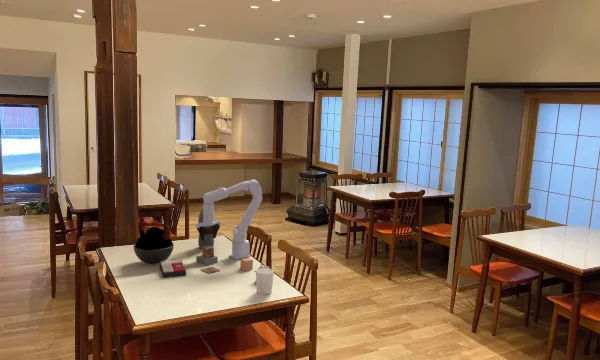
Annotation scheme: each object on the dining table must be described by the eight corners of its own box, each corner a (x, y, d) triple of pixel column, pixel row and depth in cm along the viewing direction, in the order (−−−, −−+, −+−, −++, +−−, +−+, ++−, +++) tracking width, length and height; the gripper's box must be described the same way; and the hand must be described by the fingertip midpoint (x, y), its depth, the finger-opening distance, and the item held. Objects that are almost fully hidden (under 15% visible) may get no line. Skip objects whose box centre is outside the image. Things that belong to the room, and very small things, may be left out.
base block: (208, 259, 258) (208, 253, 257) (217, 263, 253) (217, 256, 252) (196, 262, 252) (196, 256, 251) (205, 266, 247) (205, 260, 246)
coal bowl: (172, 256, 260) (172, 223, 257) (175, 268, 241) (175, 232, 238) (134, 258, 253) (133, 224, 251) (133, 271, 235) (132, 234, 232)
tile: (212, 267, 245) (212, 266, 245) (220, 270, 240) (220, 269, 240) (200, 270, 240) (200, 269, 240) (208, 273, 235) (208, 272, 235)
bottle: (195, 249, 275) (195, 198, 270) (201, 244, 284) (201, 195, 279) (211, 250, 273) (211, 199, 269) (216, 246, 282) (217, 196, 278)
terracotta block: (247, 266, 248) (247, 257, 247) (252, 269, 244) (252, 259, 244) (240, 268, 244) (240, 259, 244) (245, 271, 241) (245, 261, 241)
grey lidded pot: (267, 287, 230) (280, 272, 229) (259, 286, 222) (272, 270, 221) (255, 275, 234) (268, 259, 233) (247, 274, 226) (260, 258, 225)
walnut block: (209, 254, 255) (209, 245, 255) (213, 256, 252) (214, 247, 251) (202, 256, 252) (202, 247, 252) (206, 258, 249) (206, 248, 248)
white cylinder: (266, 296, 209) (266, 275, 207) (251, 292, 213) (252, 271, 211) (276, 291, 215) (276, 270, 214) (262, 287, 220) (262, 266, 218)
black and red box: (163, 271, 226) (159, 260, 240) (163, 280, 227) (159, 268, 240) (186, 269, 230) (181, 258, 244) (186, 277, 231) (181, 266, 245)
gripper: (215, 211, 265) (215, 235, 267) (193, 215, 255) (192, 239, 257) (222, 214, 260) (222, 238, 262) (200, 217, 250) (199, 242, 252)
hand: (208, 238), depth 259 cm, fingers open, 7 cm apart
